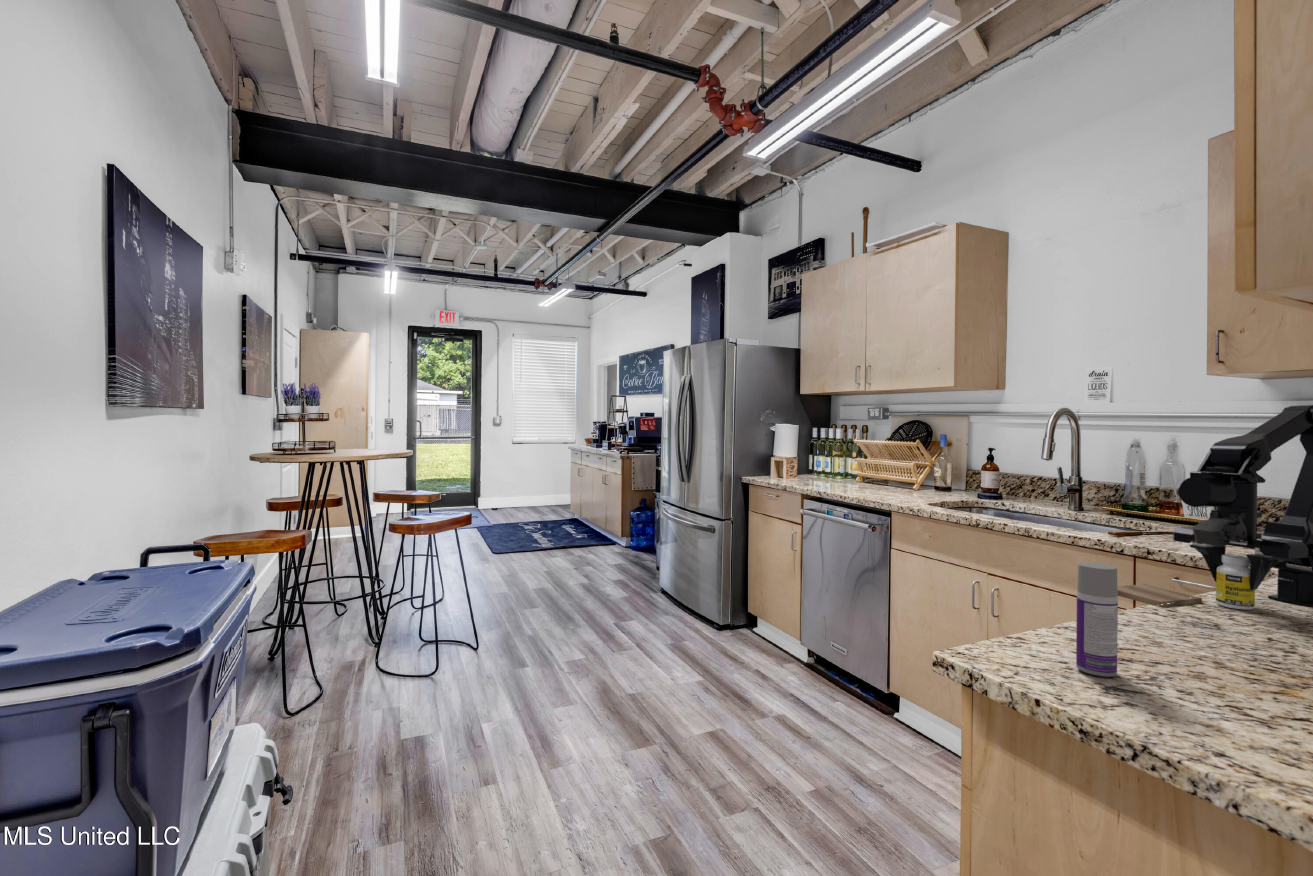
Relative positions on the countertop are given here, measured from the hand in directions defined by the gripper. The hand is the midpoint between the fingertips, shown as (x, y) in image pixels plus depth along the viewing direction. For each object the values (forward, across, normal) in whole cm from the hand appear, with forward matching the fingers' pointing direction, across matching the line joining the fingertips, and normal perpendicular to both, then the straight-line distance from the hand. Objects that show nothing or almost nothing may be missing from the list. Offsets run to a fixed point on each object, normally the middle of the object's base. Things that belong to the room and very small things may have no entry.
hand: (1235, 585), depth 114 cm
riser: (+5, -10, -8) cm, 13 cm away
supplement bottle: (+4, 0, 0) cm, 4 cm away
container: (+4, +17, -56) cm, 59 cm away
